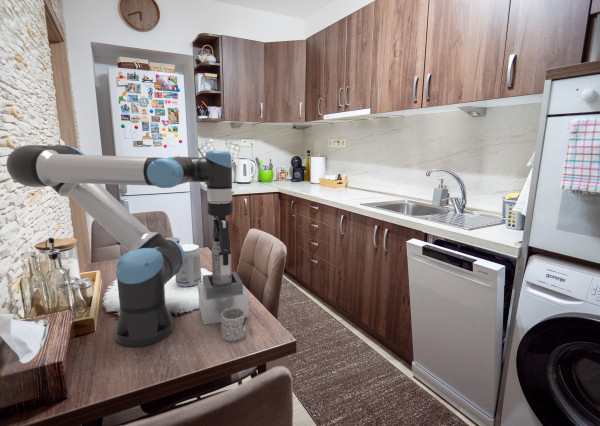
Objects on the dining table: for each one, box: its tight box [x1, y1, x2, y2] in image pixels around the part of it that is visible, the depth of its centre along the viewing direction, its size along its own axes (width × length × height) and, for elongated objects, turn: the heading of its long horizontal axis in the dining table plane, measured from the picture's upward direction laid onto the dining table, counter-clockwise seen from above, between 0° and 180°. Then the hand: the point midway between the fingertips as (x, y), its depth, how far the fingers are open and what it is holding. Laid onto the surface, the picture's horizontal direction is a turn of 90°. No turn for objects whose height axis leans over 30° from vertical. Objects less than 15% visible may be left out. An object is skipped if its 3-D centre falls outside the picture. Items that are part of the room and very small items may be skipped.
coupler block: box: [197, 271, 250, 326], centre depth 107 cm, size 14×14×11 cm
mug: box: [220, 308, 246, 342], centre depth 95 cm, size 10×7×7 cm
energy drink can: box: [211, 242, 233, 286], centre depth 105 cm, size 6×6×15 cm
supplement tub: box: [175, 243, 202, 288], centre depth 129 cm, size 10×10×15 cm
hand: (221, 267), depth 105 cm, fingers open, 13 cm apart
